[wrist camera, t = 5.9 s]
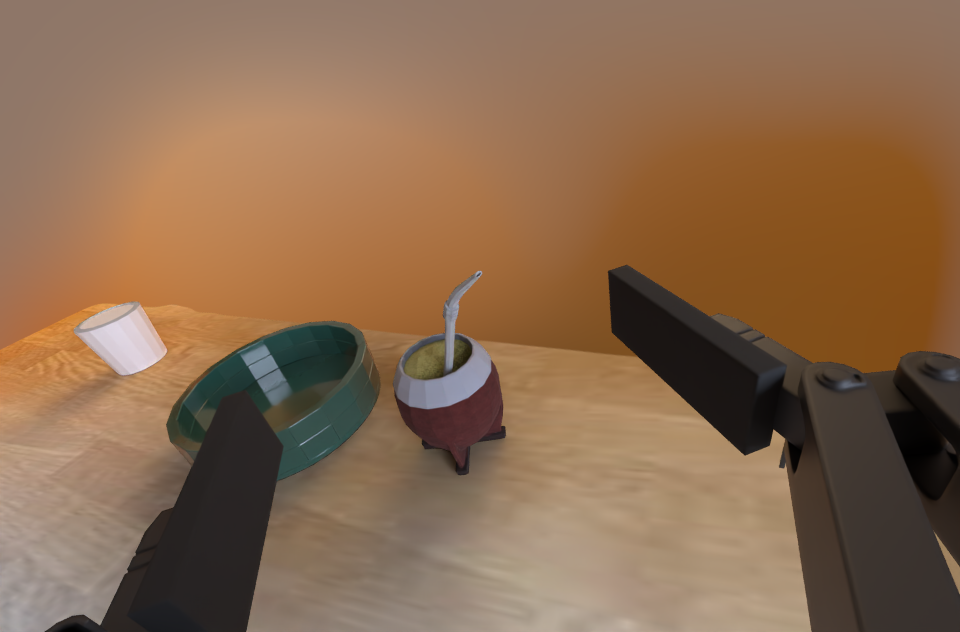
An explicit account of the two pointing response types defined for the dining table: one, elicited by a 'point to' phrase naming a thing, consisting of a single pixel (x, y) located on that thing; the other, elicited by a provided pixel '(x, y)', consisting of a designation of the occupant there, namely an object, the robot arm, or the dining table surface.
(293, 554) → the dining table surface
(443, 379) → the mate gourd
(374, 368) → the green round tray
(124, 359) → the white cylinder
